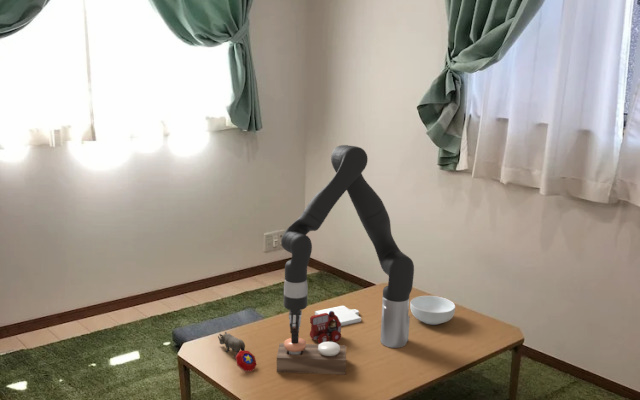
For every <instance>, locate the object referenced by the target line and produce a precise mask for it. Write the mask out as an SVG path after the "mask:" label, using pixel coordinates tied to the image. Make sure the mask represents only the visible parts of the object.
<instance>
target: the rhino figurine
mask: <svg viewBox="0 0 640 400" xmlns="http://www.w3.org/2000/svg"><path fill="white" fill-rule="evenodd" d="M217 338H218V340H219V344H220V345H224V346H225V347H226V348H225V353H229V352H230V349H231V351H233V352H234V351H235V354H234V355H233V358H235V357H236V355H237V354H238V352H239V351H246V350H245V349H246V344H245V341H243V340H242V339H240V338H237V337H235V336H234V335H232V334H231V333H228V332H227V331H225V332H224V333H223V334H221V333H219V335H217Z"/></svg>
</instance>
